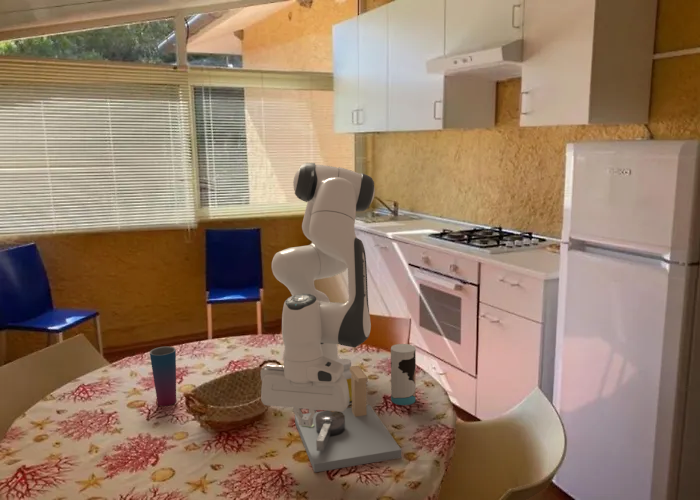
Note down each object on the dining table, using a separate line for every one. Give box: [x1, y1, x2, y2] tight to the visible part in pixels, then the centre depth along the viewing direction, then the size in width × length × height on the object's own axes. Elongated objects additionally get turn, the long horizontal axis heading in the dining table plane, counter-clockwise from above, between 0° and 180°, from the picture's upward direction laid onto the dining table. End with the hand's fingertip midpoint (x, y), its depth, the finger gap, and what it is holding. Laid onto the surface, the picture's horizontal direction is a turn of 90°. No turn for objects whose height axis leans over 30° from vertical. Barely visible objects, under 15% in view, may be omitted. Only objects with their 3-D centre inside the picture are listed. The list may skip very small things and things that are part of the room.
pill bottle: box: [335, 358, 352, 406], centre depth 160 cm, size 6×6×12 cm
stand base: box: [294, 365, 402, 473], centre depth 139 cm, size 24×20×13 cm
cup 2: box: [390, 343, 417, 406], centre depth 160 cm, size 7×7×15 cm
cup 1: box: [149, 346, 177, 407], centre depth 162 cm, size 7×7×15 cm
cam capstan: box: [316, 410, 345, 451], centre depth 139 cm, size 18×7×3 cm, turn 170°
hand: (305, 424), depth 133 cm, fingers closed
